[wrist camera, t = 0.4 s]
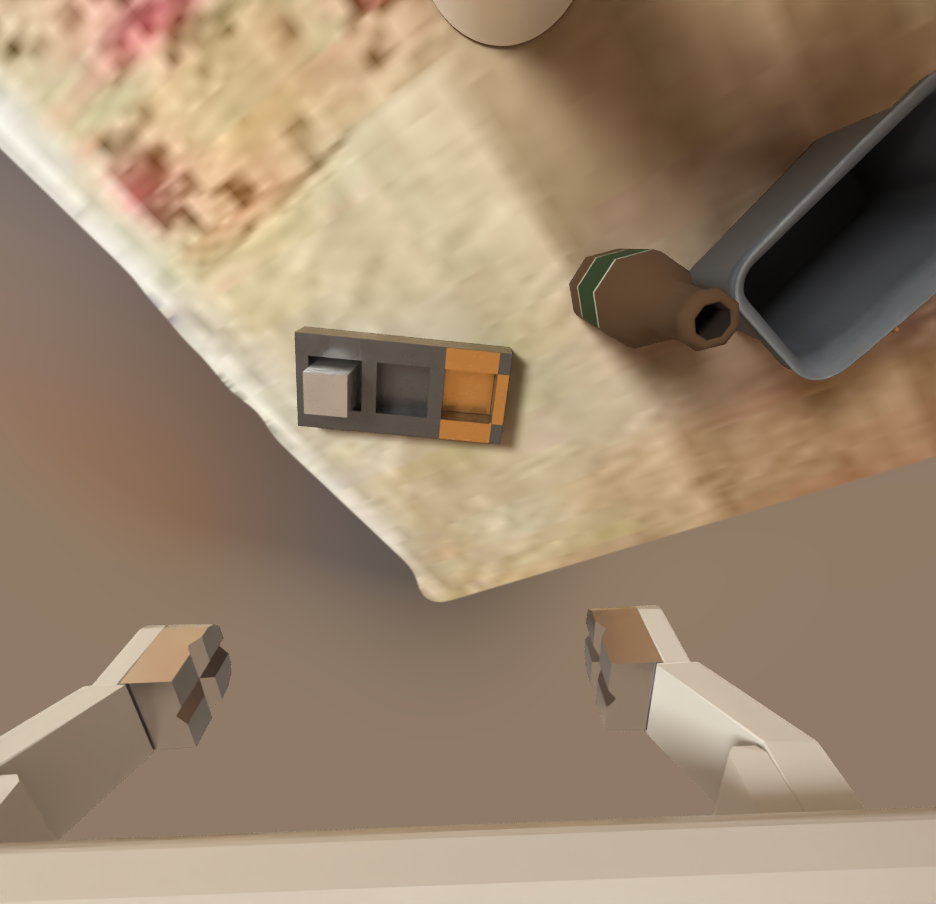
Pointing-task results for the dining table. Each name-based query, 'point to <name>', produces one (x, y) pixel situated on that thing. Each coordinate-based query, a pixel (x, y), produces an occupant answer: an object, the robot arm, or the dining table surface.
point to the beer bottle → (651, 300)
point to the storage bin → (838, 241)
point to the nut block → (332, 387)
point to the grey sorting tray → (413, 384)
